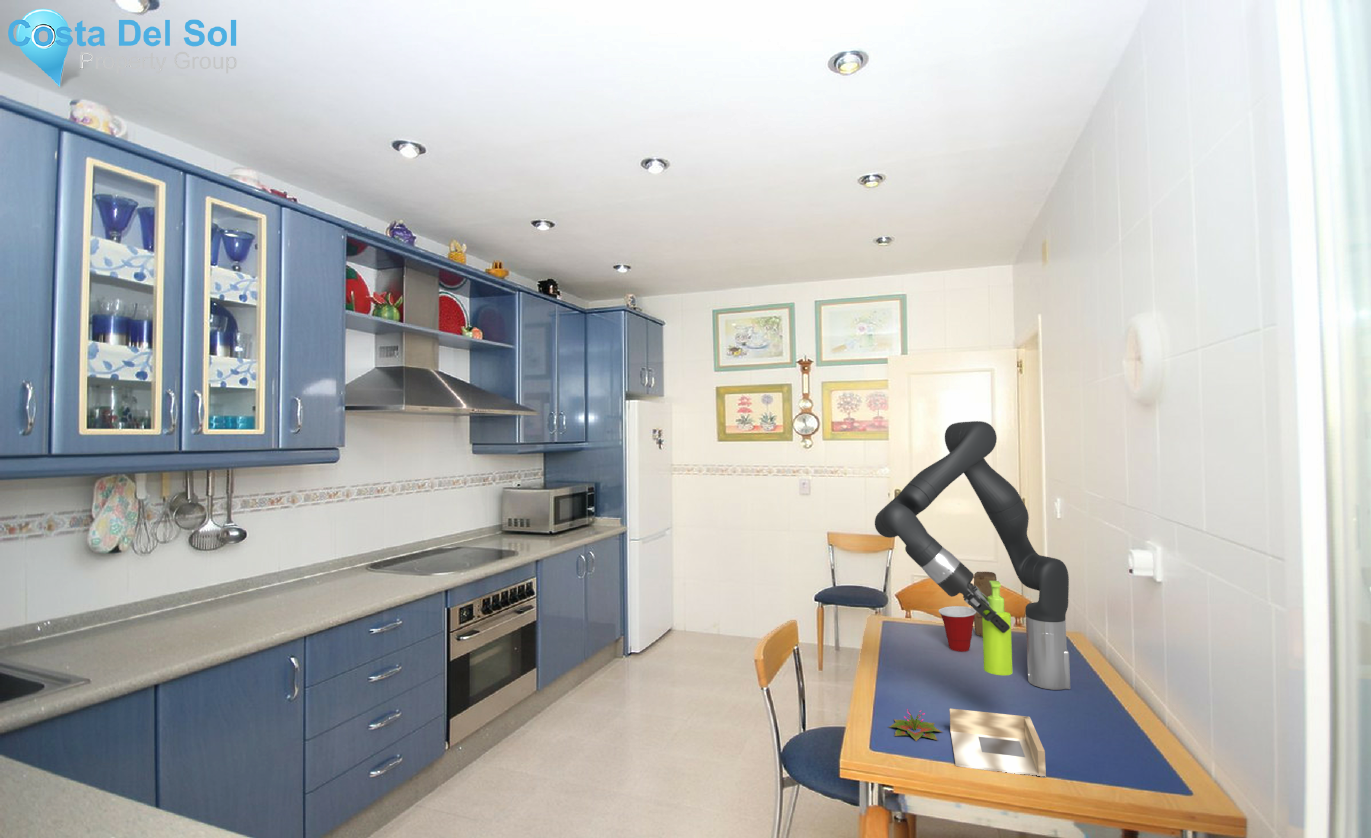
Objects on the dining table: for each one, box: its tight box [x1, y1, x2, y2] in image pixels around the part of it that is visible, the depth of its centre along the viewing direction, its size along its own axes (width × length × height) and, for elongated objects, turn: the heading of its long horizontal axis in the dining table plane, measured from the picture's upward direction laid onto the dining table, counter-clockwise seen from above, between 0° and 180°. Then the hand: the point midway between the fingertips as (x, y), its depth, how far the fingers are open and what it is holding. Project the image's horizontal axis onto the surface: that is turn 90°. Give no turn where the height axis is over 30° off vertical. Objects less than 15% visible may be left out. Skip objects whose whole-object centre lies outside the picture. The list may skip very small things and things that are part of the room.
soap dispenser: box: [982, 580, 1013, 676], centre depth 149 cm, size 6×7×20 cm
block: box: [973, 571, 998, 638], centre depth 213 cm, size 11×8×20 cm
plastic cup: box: [938, 605, 976, 653], centre depth 200 cm, size 11×11×12 cm
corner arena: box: [949, 708, 1047, 778], centre depth 134 cm, size 16×16×5 cm
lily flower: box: [888, 708, 943, 742], centre depth 145 cm, size 12×12×5 cm
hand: (1004, 625), depth 148 cm, fingers closed on soap dispenser, 6 cm apart
